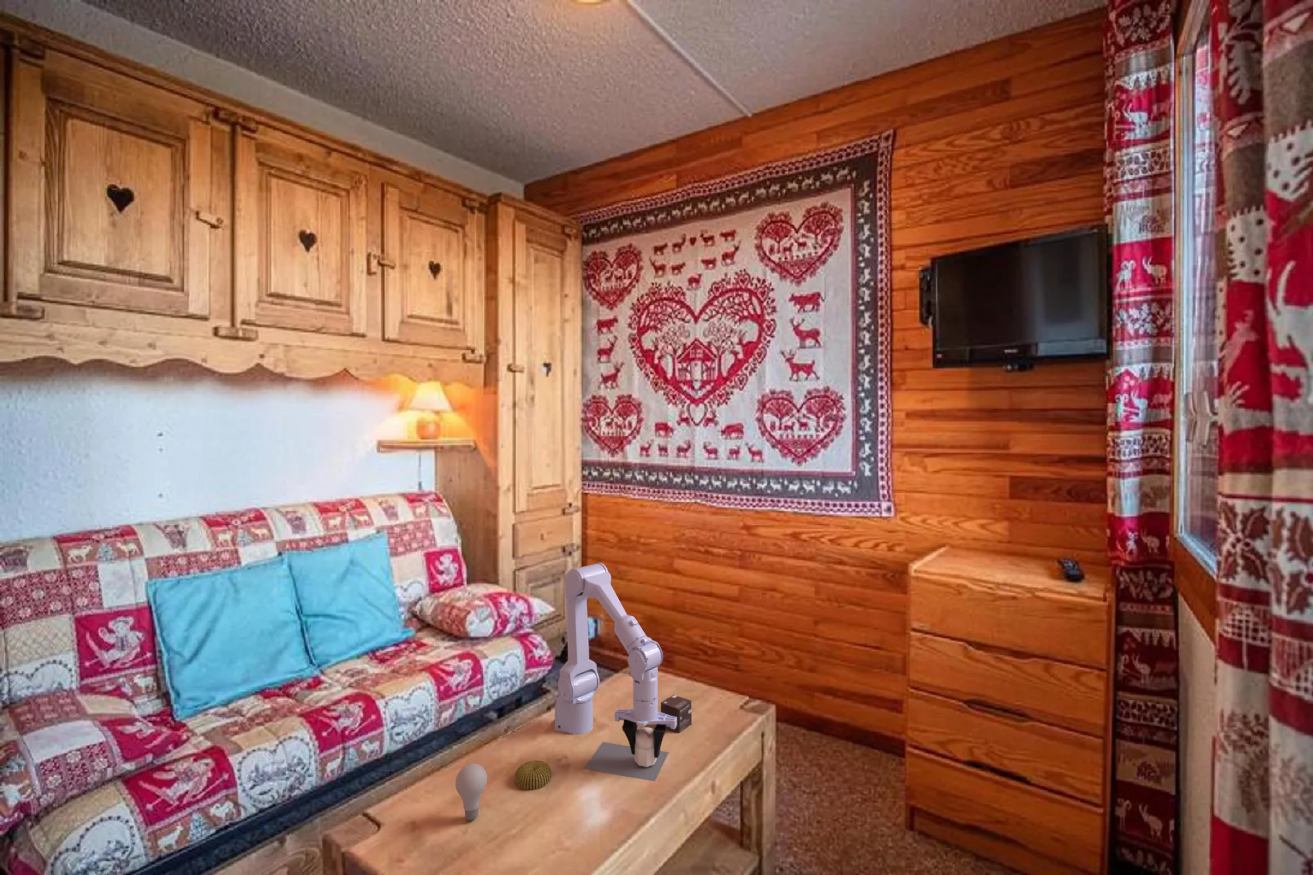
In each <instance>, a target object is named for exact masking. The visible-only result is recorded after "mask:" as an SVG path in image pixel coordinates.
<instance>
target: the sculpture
mask: <svg viewBox="0 0 1313 875" xmlns="http://www.w3.org/2000/svg"><path fill="white" fill-rule="evenodd" d="M551 779H552V769H551V768H550V766H549V765H548V763H546V762H544V761H542V760H534V759H533V760H530V761H527V762H524V763H522V764H521V765H520V766H519V767H518V768H517V769H516V771H515V774H514V783H515V785H516V786H517V787H518V788H520V789H521V790H525V791H535V790H538V789H541V788H543V787H546V785H548V784H549V782H550V781H551Z"/></svg>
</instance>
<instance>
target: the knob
mask: <svg viewBox="0 0 1313 875" xmlns="http://www.w3.org/2000/svg"><path fill="white" fill-rule="evenodd" d="M654 729H655V728H651V727H649V726H648V727H645V726H643V727H640V728H637V731H636V743H635V762H636V763H637V764H638V766H642V767H648V768H649V767H651V765H654V764H655V762H656V760H657V758H654V747H655V744H654V735H653V731H654Z"/></svg>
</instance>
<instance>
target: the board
mask: <svg viewBox="0 0 1313 875" xmlns="http://www.w3.org/2000/svg"><path fill="white" fill-rule="evenodd" d="M669 754H670V752H669V751H663V750H660V754H659V756H658V758H657V760H656V762H655V764H654V765H651V766H648V767H644V766H639V765H638V764H637V763H636V762H635V755H633V754H632V753H631V748H630V745H625V744H623V745H622V744H619V743H612V742H605V741H602V743H601V744H600V745H599V747H598V748H597V749H596V750H595V752H594V754H593V755H592V756H591V757H590V759H589V761H588V762H587V763H586V765H585V766H584V768H583V769H584V770H588V771H593V772H600V773H604V774H605V773H606V774H611V775H616V776H617V775H618V776H623V777H627V778H635V779H640V780H646V781H652V782H656V780H657V778H658V776H659V774H660V772H661V769H662V767H664V763H665V761H666V760H667V757H668V756H669Z"/></svg>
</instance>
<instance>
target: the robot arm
mask: <svg viewBox="0 0 1313 875" xmlns="http://www.w3.org/2000/svg"><path fill="white" fill-rule="evenodd" d="M611 582H612V575H611V573H610V572H609V571H608V568H607V566H606V565H605V564H604V563H602V562H596V563H595V564H590V565H585V566H580V567H576V568H575V567H574V568H570V569H569V570H568V571H567V572H566V573H565V575H564V596H565V608H566V613H565V614H566V631H567V632H566V634H567V636H566V637H567V658H568V660H567V661H566V662H565V664H564V665H563V666H562V667H561V668H560V670H559V679H558V683H557V690H558V694H559V695H558V697H557V699H556V701H555V706H554V731H556V732H564V733H567V734H570V735H574V736H575V735H576V736H577V735H578V736H580V735H581V736H582V735H585V734H588V733H590V732H592V730H593V728H594V696H596V691H597V690H598V689H599V687H600V684H601V682H600V676H599V673H598V668H597V663H596V662H595V661H593V660H591V659H590V650H589V648H590V646H589V645H590V644H589V627H588V625H589V623H588V622H589V621H588V618H589V617H588V599H589V598H591V599H596V600H598V602H599V603H600V605H601V606H602V607H603V609H604V611H606V612H607V614H608V615H609V617H610V618H611V619H612V621H613V623H614V627H613V629H614V633H615V634H616V636H617V638H618V640H619V641H620V643H621V645H622V646H623V647H624V650H626V652H627V654H628V656H627V657H626V659H627V664H628V666H629V669H630V676H631V678H632V692H633V693H632V705H633V706H632V708H630V709H629V708H627V709H621V708H617V709H616V710H615V712H614V721H615V722H620V721H623V723H622V726H621V728H622V729H621V730H622V731H623V732H624V735H625V736H626V738H627V741H628V745H629V746H630V748H631V753H632V754H633V755H635V743H636V731H637V730H638V727H639V726H640V727H645V726H646V725H648V726H649V725H653V726H654V725H655V727H654V728H653V729H654V731H653V735H654V744H655V747H654V758H658V756H659V754H660V751H661V746H662V742H663V740H664V736H665V733H666V732H667V730H668V729H667V727H670V728H671V729H675V728H676V726H677V717H674V716H670V715H667V714H664V713H661V711H659V709H658V708H659V707H658V706H659V695H658V693H659V692H658V691H659V687H658V686H659V684H658V683H659V679H658V678H659V672H658V670H659V669H658V668H659V667H658V666H660V665H661V664H662V663H663V660H664V654H663V653H664V652H663V650H662V648H661V646H660V644H659V643H658V642H657V641H655V640H653V639H652V638H651V637H648V636H647V635H646V633H645V632H644V630H643V629H642V627H641V625H640V623H639V622H638V621H637V619H636V618H635V616H632V615H630V614H627V612H626V610H625V608H624V607H623V604H622V603H621V601H620V600H619V598H618V595H617V594H616V592H615V590H614V588H613V587H612V585H611Z"/></svg>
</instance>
